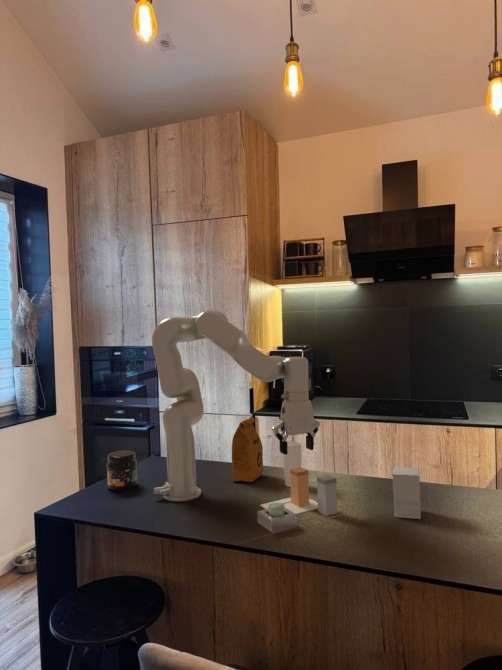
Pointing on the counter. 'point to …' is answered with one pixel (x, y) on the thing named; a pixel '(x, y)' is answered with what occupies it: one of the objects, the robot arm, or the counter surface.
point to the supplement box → (406, 492)
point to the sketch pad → (293, 507)
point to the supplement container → (122, 470)
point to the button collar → (277, 520)
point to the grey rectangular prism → (327, 495)
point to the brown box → (299, 486)
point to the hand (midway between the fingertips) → (296, 451)
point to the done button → (276, 509)
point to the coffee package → (247, 453)
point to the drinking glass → (291, 459)
